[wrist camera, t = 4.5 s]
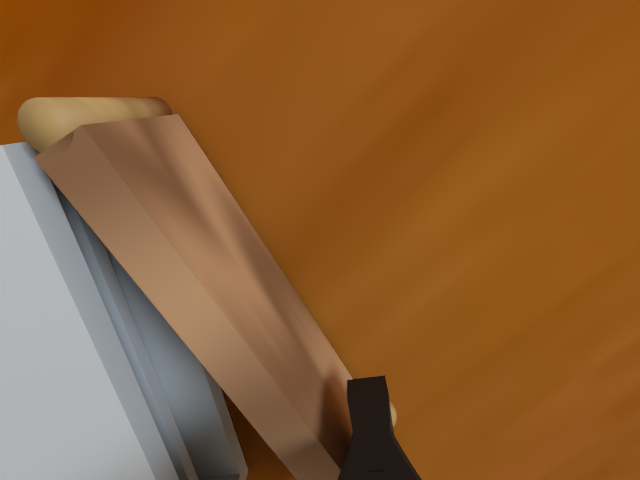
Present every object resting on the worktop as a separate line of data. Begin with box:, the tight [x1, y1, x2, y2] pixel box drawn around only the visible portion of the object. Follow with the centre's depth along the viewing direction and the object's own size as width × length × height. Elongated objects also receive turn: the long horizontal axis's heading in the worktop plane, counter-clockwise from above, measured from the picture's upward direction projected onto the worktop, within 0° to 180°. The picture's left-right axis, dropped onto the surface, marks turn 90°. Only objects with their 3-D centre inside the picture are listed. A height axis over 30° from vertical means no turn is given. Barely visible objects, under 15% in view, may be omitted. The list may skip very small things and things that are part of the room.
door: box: [18, 97, 397, 480], centre depth 11 cm, size 15×2×5 cm, turn 30°
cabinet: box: [0, 142, 248, 480], centre depth 12 cm, size 15×10×5 cm, turn 10°
